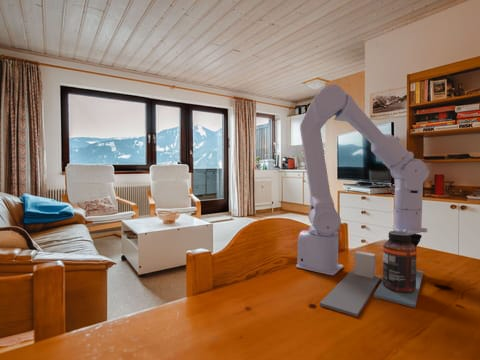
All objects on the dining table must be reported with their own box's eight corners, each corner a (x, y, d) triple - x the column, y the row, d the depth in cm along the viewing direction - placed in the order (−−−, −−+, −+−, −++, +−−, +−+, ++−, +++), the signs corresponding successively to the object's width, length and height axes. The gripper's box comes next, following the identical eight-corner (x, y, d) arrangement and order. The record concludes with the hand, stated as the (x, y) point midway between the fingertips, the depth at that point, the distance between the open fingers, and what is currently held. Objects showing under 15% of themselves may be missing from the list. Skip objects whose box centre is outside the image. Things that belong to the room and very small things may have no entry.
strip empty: (319, 305, 50) (320, 275, 49) (351, 272, 67) (352, 249, 66) (357, 317, 46) (358, 284, 46) (381, 278, 63) (381, 254, 63)
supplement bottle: (413, 284, 58) (415, 231, 58) (418, 296, 53) (420, 237, 52) (381, 279, 61) (383, 228, 60) (382, 290, 55) (384, 234, 55)
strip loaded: (373, 297, 53) (374, 268, 53) (390, 267, 70) (391, 245, 70) (415, 307, 49) (416, 277, 49) (423, 273, 66) (423, 250, 66)
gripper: (426, 213, 58) (424, 277, 59) (429, 207, 70) (427, 260, 70) (388, 210, 62) (386, 270, 63) (397, 204, 74) (396, 255, 74)
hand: (406, 264), depth 67 cm, fingers closed on strip loaded, 2 cm apart
